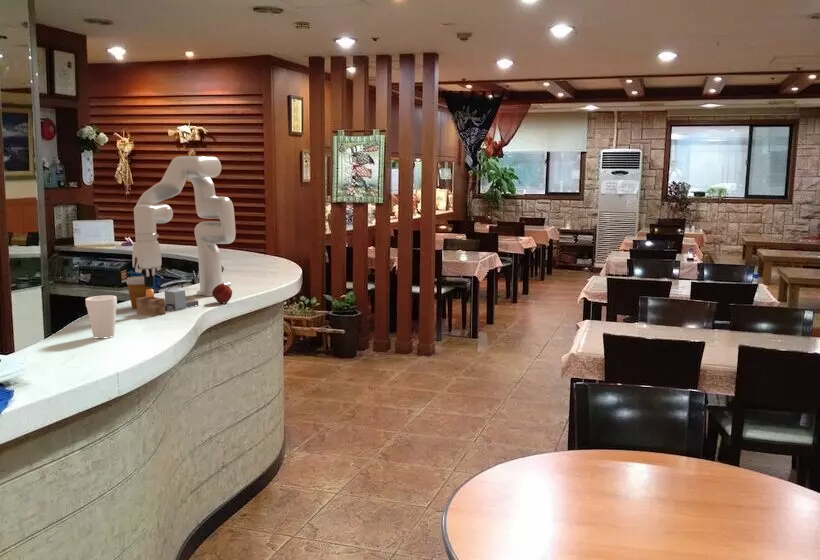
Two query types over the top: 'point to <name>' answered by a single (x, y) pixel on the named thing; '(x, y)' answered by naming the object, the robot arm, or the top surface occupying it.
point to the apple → (222, 293)
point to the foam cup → (102, 315)
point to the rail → (188, 303)
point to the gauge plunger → (150, 294)
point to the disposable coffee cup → (136, 289)
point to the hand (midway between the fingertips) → (149, 286)
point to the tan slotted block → (150, 306)
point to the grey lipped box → (175, 298)
